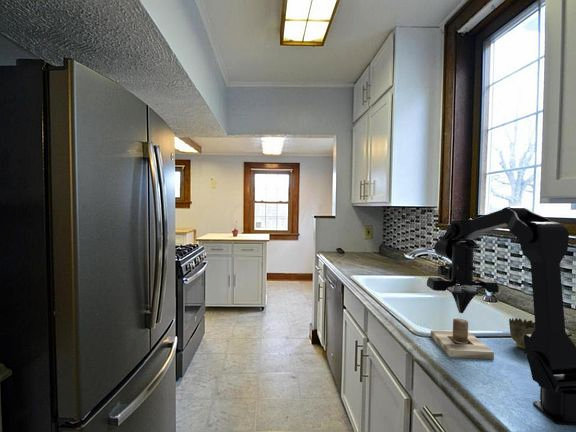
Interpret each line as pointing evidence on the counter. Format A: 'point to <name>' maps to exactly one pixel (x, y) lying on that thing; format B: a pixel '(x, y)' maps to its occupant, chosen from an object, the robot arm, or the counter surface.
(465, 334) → the peg
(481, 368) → the counter surface
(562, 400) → the robot arm
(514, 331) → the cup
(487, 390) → the counter surface
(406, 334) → the counter surface
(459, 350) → the board
